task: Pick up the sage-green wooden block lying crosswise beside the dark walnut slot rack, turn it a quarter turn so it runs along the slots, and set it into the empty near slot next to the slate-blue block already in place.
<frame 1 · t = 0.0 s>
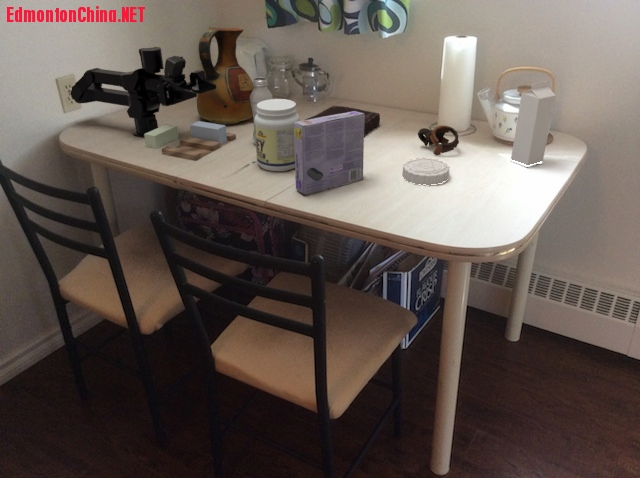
hand: (206, 90, 163), 17 cm above the table, tool horizontal, fingers open, 9 cm apart
sage block: (163, 145, 172), on the table
ceramic pitcher: (229, 121, 192), on the table
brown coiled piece: (436, 150, 166), on the table
slot rack: (200, 149, 169), on the table
cake pan box: (331, 185, 146), on the table
plastic bottle: (264, 147, 170), on the table
diary: (337, 134, 181), on the table
supplement tub: (279, 164, 158), on the table
milk: (526, 163, 157), on the table
slate block: (209, 141, 172), point 1 cm above the table, touching slot rack
mooncake: (425, 178, 150), on the table
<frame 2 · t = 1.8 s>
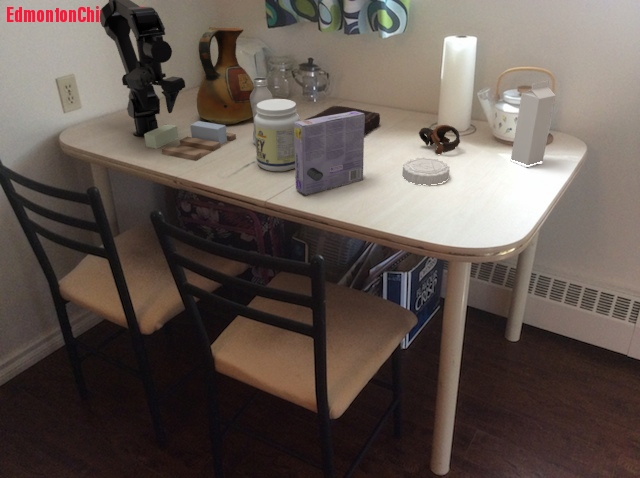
hand: (157, 110, 167), 11 cm above the table, tool pointing down, fingers open, 9 cm apart
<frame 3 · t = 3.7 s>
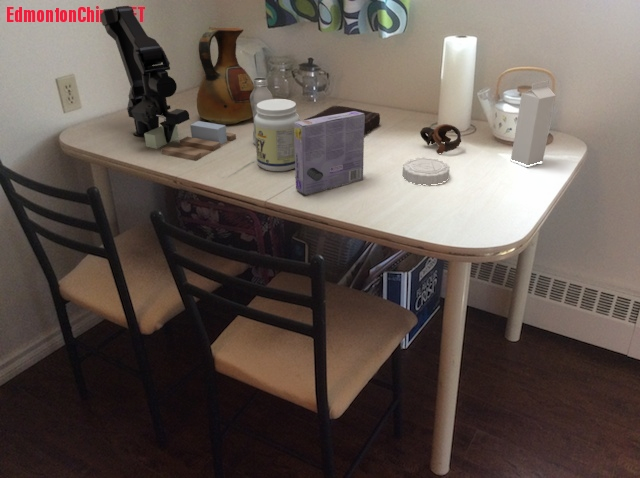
hand: (162, 141, 172), 1 cm above the table, tool pointing down, fingers closed on sage block, 4 cm apart
sage block: (163, 145, 172), on the table, touching gripper
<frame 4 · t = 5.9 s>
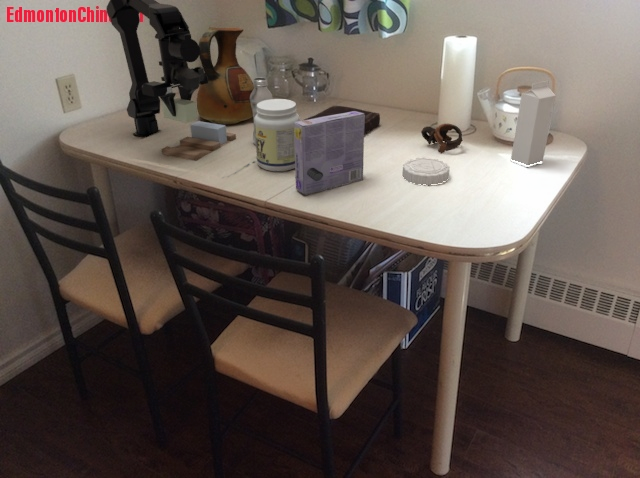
hand: (180, 114, 161), 12 cm above the table, tool pointing down, fingers closed on sage block, 4 cm apart
sage block: (180, 118, 161), point 10 cm above the table, touching gripper
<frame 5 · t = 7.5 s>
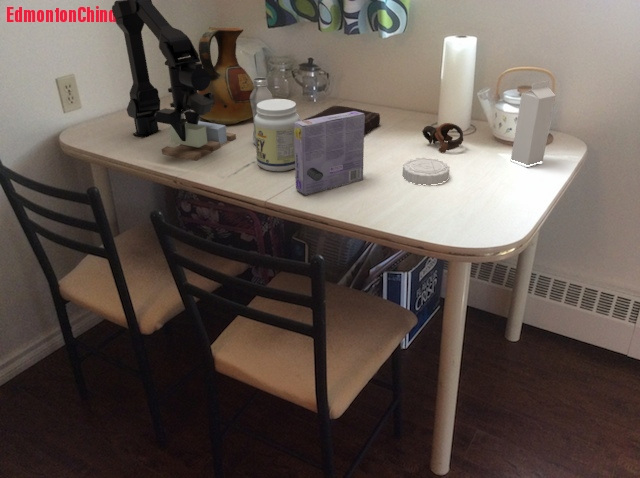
hand: (188, 138, 163), 5 cm above the table, tool pointing down, fingers closed on sage block, 4 cm apart
sage block: (189, 142, 164), point 4 cm above the table, touching gripper
when the fingers open (4 cm above the table, at t = 8.5 s): sage block drops 1 cm, resting on slot rack.
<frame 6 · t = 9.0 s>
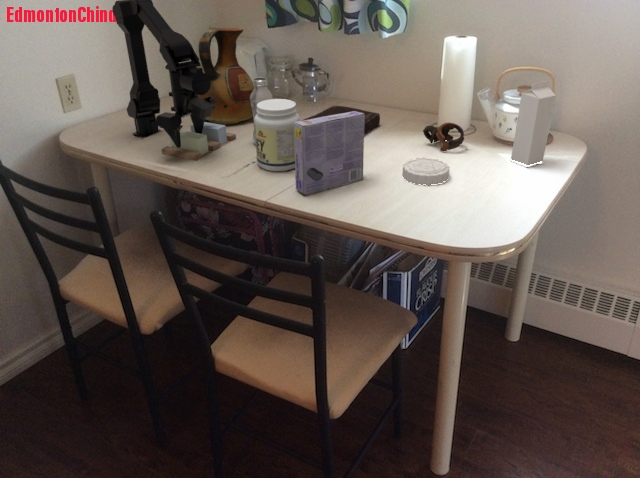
hand: (189, 142, 164), 4 cm above the table, tool pointing down, fingers open, 9 cm apart
sage block: (190, 151, 165), point 1 cm above the table, touching slot rack
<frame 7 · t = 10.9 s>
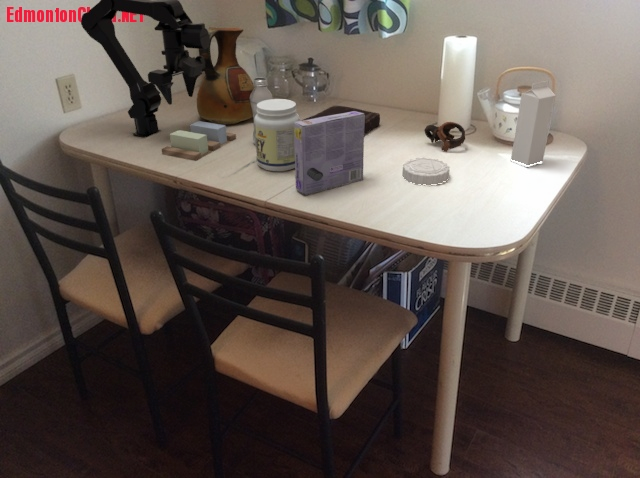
hand: (180, 100, 172), 12 cm above the table, tool pointing down, fingers open, 9 cm apart
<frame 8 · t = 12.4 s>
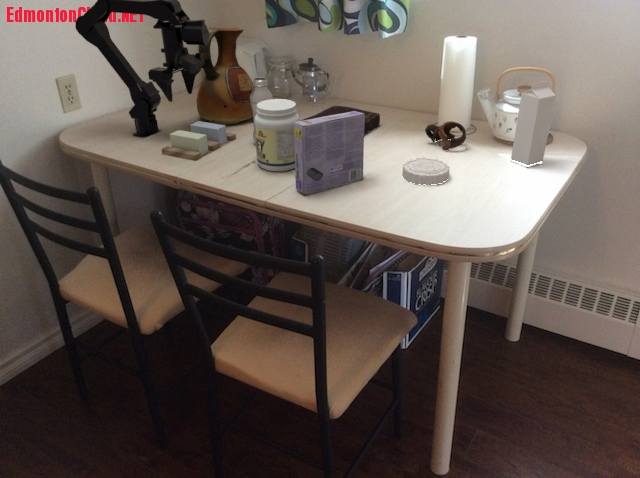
hand: (180, 97, 174), 12 cm above the table, tool pointing down, fingers open, 9 cm apart
at the end: sage block 0.1 cm from the target spot on the slot rack, point 1.0 cm above the slot rack's base; sage block tilted 0°; slate block moved 0.0 cm from its start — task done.
